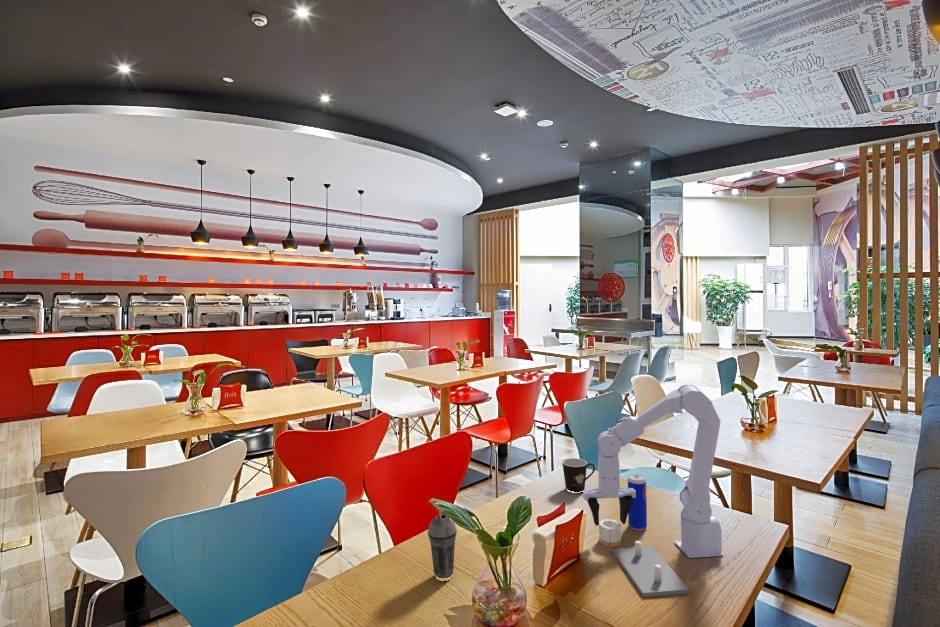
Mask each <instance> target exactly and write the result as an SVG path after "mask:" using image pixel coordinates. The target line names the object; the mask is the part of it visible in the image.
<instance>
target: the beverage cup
mask: <svg viewBox="0 0 940 627" xmlns="http://www.w3.org/2000/svg"><path fill="white" fill-rule="evenodd" d="M438 501H440V502H441V499H438ZM438 512H439V514H438V515H436V516H435V517H434V518H432V520H431V521H430V522H429V525H428V529H427V535H428V539H429V543H430V548H431V549H430V550H431V559H432V560H431V561H432V566H433V575H434V576H435V575H436V576H437V577H439V578H448V577H450V576H451V575H452V574H454V564H455V549H456V546H455V545H456V540H457V538H456V537H457V533H458V531H457V527H456V523H455V521H454V520H453V521H454V522H453V521H451V520H450V519H449V518H448V517H447V516H448V515H447V514H443V513H442V510H441V511H440V510H439V509H438ZM446 515H447V516H446Z"/></svg>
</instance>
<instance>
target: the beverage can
mask: <svg viewBox="0 0 940 627" xmlns="http://www.w3.org/2000/svg"><path fill="white" fill-rule="evenodd" d="M627 488H633V489H634V490H635V491H636V498H632V499H633V500H634V503H633V505H632V507H631V508H630V510H629V512H628V515H627V518H628V525H629V527H630V528H631V529H632V530H634V529H635V531H639V530H640V531H644V530H646V528H648V525H647V524H648V516H647V515H648V514H647V513H648V512H647V506H648V505H647V480H646V477H645V476H644V475H641V474H635V473H634V474H630V475H628V478H627Z"/></svg>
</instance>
